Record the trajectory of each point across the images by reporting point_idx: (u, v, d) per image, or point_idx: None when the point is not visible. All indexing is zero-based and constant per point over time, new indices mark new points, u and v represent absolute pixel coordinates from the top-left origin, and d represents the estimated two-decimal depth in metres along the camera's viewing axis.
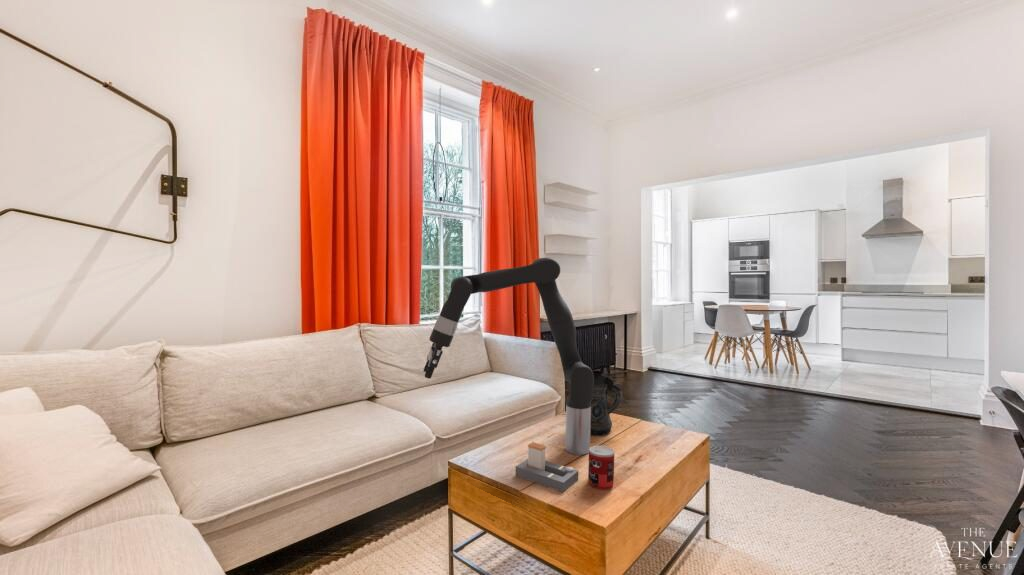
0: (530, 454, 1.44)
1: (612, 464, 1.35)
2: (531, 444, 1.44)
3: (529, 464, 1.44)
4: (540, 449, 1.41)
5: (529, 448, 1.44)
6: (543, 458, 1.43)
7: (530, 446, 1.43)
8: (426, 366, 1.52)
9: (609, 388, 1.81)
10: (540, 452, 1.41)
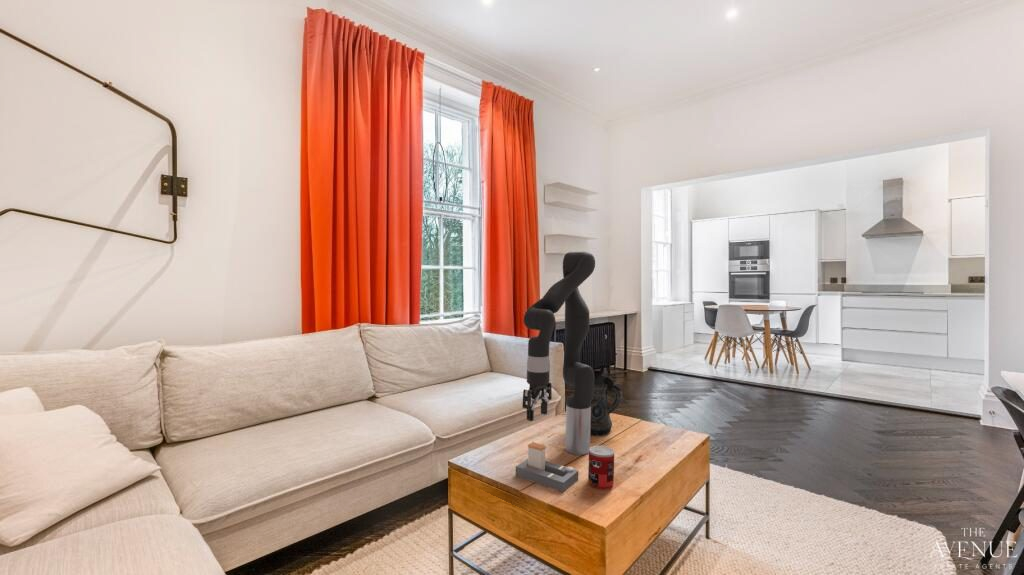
0: (530, 454, 1.44)
1: (612, 464, 1.35)
2: (531, 444, 1.44)
3: (529, 464, 1.44)
4: (540, 449, 1.41)
5: (529, 448, 1.44)
6: (543, 458, 1.43)
7: (530, 446, 1.43)
8: (541, 408, 1.47)
9: (609, 388, 1.81)
10: (540, 452, 1.41)
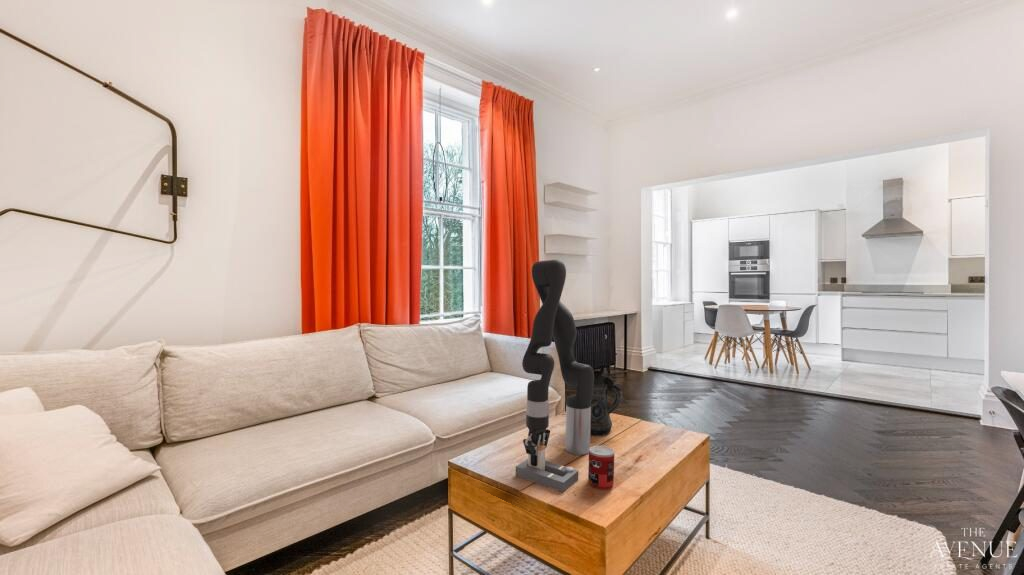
0: None
1: (612, 464, 1.35)
2: None
3: (529, 464, 1.44)
4: (540, 449, 1.41)
5: None
6: (543, 458, 1.43)
7: None
8: None
9: (609, 388, 1.81)
10: (540, 452, 1.41)
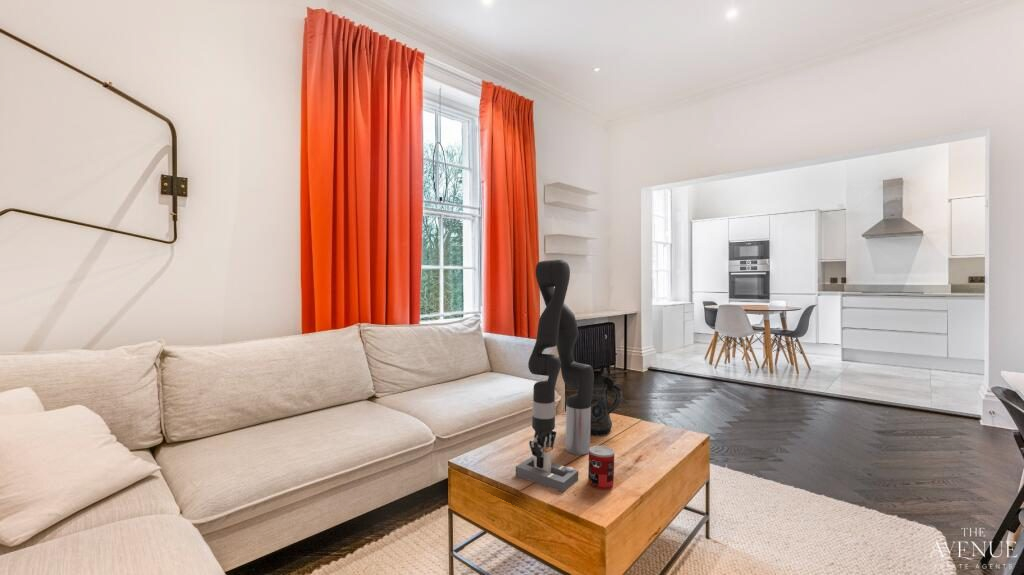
0: None
1: (612, 464, 1.35)
2: None
3: (535, 466, 1.42)
4: (546, 451, 1.40)
5: None
6: (549, 460, 1.41)
7: None
8: None
9: (609, 388, 1.81)
10: (547, 454, 1.40)
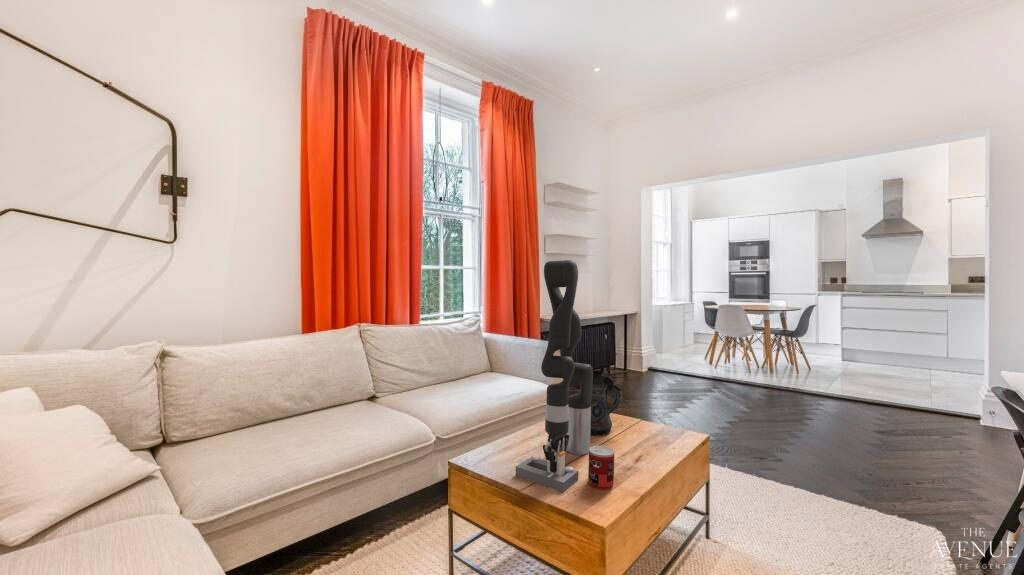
0: None
1: (612, 464, 1.35)
2: None
3: (548, 470, 1.40)
4: (560, 455, 1.37)
5: None
6: (563, 464, 1.38)
7: None
8: None
9: (609, 388, 1.81)
10: (560, 458, 1.37)
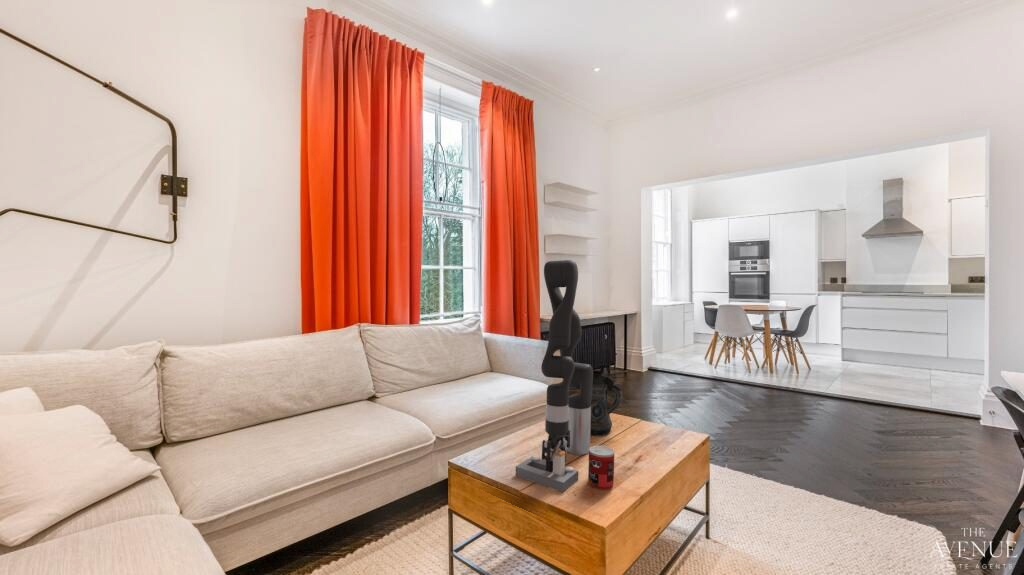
0: None
1: (612, 464, 1.35)
2: None
3: None
4: (560, 455, 1.37)
5: None
6: (563, 464, 1.38)
7: None
8: None
9: (609, 388, 1.81)
10: (560, 458, 1.37)
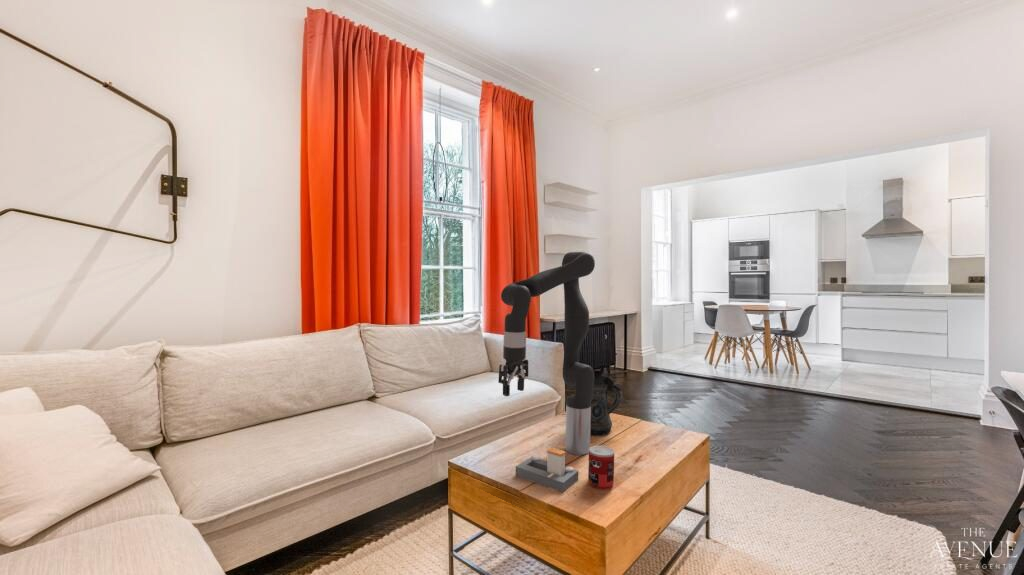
0: (549, 460, 1.39)
1: (612, 464, 1.35)
2: (550, 450, 1.40)
3: (548, 470, 1.40)
4: (560, 455, 1.37)
5: (548, 454, 1.39)
6: (563, 464, 1.38)
7: (549, 452, 1.39)
8: (518, 384, 1.48)
9: (609, 388, 1.81)
10: (560, 458, 1.37)
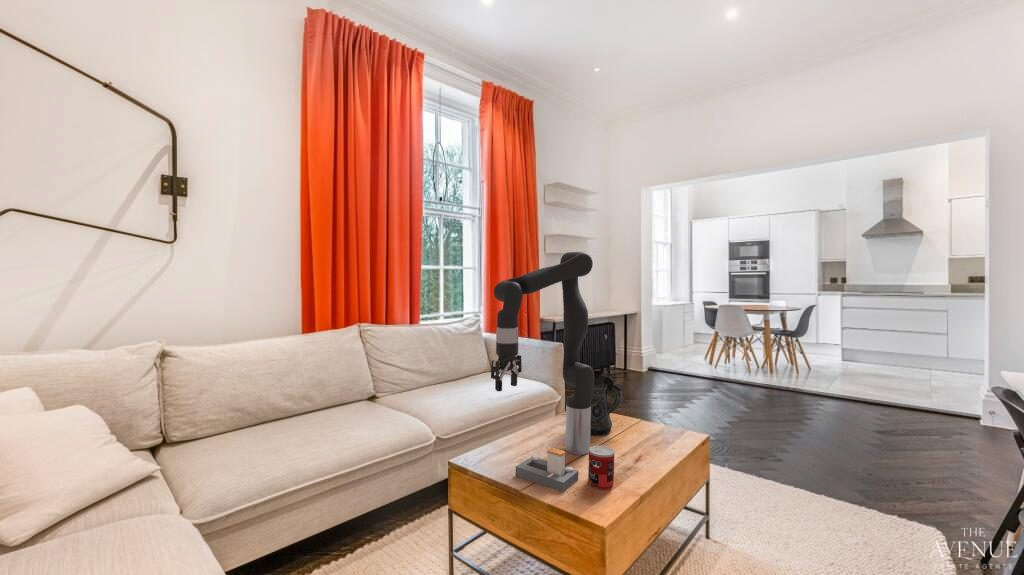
0: (549, 460, 1.39)
1: (612, 464, 1.35)
2: (550, 450, 1.40)
3: (548, 470, 1.40)
4: (560, 455, 1.37)
5: (548, 454, 1.39)
6: (563, 464, 1.38)
7: (549, 452, 1.39)
8: (511, 380, 1.49)
9: (609, 388, 1.81)
10: (560, 458, 1.37)
